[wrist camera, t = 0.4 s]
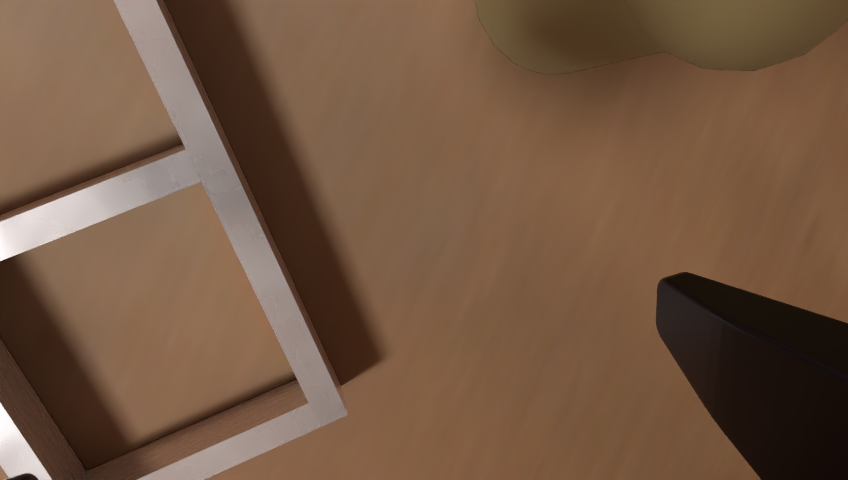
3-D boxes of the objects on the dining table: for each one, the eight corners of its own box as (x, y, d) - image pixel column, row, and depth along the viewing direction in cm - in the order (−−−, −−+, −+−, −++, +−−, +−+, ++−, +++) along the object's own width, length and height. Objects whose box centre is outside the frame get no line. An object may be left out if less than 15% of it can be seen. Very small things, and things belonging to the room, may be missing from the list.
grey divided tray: (341, 386, 25) (348, 414, 23) (72, 505, 23) (56, 545, 22) (78, -185, 18) (58, -212, 16) (-308, -61, 17) (-377, -73, 15)
